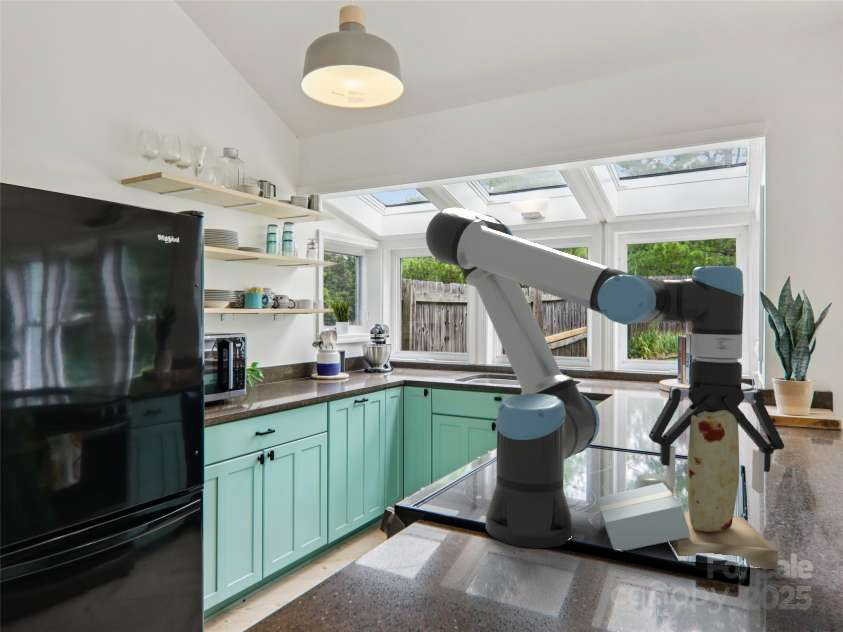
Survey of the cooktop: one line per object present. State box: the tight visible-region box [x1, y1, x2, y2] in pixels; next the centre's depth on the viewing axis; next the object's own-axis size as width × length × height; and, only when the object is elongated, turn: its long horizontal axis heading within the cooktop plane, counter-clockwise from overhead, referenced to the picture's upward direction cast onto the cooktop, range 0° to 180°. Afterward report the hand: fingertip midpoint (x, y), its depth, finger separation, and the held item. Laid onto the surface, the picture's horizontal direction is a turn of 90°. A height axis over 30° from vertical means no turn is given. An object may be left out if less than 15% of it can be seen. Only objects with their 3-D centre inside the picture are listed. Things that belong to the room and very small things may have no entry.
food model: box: [686, 409, 740, 532], centre depth 92 cm, size 10×7×20 cm
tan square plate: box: [669, 511, 778, 571], centre depth 92 cm, size 14×14×3 cm
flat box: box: [595, 483, 691, 551], centre depth 94 cm, size 12×12×5 cm
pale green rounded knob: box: [636, 473, 675, 496], centre depth 106 cm, size 6×6×7 cm
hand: (713, 487), depth 92 cm, fingers open, 13 cm apart
